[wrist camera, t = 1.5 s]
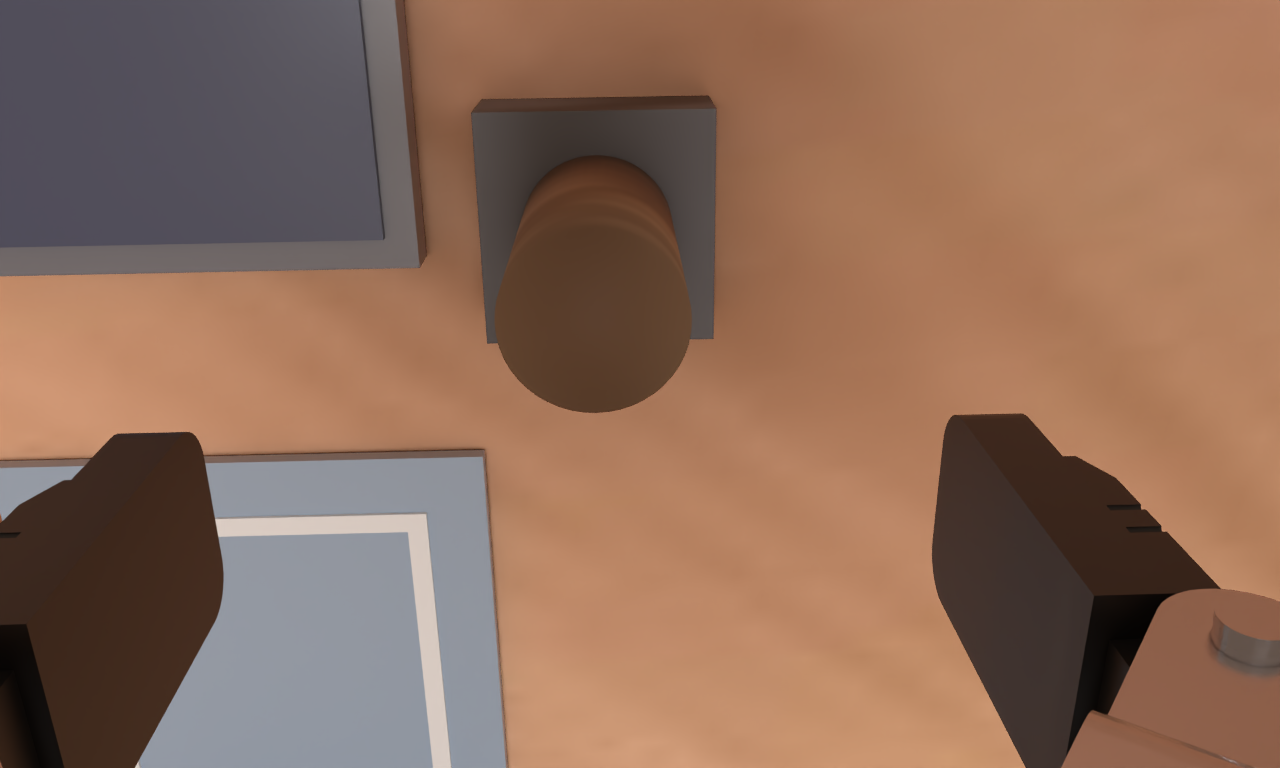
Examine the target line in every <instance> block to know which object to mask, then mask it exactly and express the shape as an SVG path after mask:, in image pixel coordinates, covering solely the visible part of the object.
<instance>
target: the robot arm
mask: <svg viewBox="0 0 1280 768" xmlns="http://www.w3.org/2000/svg"><path fill="white" fill-rule="evenodd" d="M932 563H933V573H934V580H935V585H936V589H937V593H938V596H939V599H940V601H941V603H942V605H943V607H944V609H945V611H946V613H947V615H948V617H949V619H950V621H951V623H952V625H953V627H954V629H955V630H956V632H957V634H958V636H959V638H960V640H961V642H962V644H963V646H964V648H965V650H966V652H967V654H968V656H969V658H970V660H971V662H972V664H973V666H974V668H975V669H976V671H977V673H978V675H979V677H980V679H981V681H982V683H983V685H984V687H985V689H986V691H987V693H988V695H989V697H990V699H991V701H992V703H993V705H994V707H995V708H996V710H997V712H998V714H999V716H1000V718H1001V720H1002V722H1003V724H1004V726H1005V728H1006V730H1007V732H1008V734H1009V736H1010V738H1011V740H1012V742H1013V744H1014V746H1015V747H1016V749H1017V751H1018V753H1019V755H1020V757H1021V759H1022V761H1023V763H1024V765H1025V767H1026V768H1280V601H1276V600H1273V599H1270V598H1267V597H1264V596H1260V595H1256V594H1252V593H1247V592H1241V591H1235V590H1226V589H1221V588H1220V587H1219V586H1218V585H1217V584H1216V583H1215V582H1214V581H1213V580H1212V579H1211V578H1210V577H1209V576H1208V575H1207V574H1206V573H1205V572H1204V571H1203V569H1202V568H1201V567H1200V566H1199V565H1198V564H1197V563H1196V562H1195V561H1194V560H1193V559H1192V558H1191V557H1190V556H1189V555H1188V554H1187V553H1186V552H1185V550H1184V549H1183V548H1182V547H1181V546H1180V545H1179V544H1178V543H1177V542H1176V541H1175V540H1174V539H1173V538H1172V537H1171V536H1170V535H1169V534H1168V533H1167V532H1162V530H1161V525H1160V524H1159V523H1158V522H1157V521H1156V520H1155V519H1154V518H1153V517H1152V516H1151V515H1150V514H1149V512H1148V511H1147V510H1141V504H1140V503H1139V502H1138V501H1137V500H1136V499H1135V498H1134V497H1133V496H1132V495H1131V493H1130V492H1129V491H1128V490H1127V489H1126V488H1125V487H1124V486H1123V485H1122V484H1121V483H1120V482H1119V481H1118V480H1117V479H1116V478H1115V477H1113V476H1111V475H1109V474H1107V473H1106V472H1104V471H1102V470H1100V469H1098V468H1096V467H1094V466H1093V465H1091V464H1089V463H1087V462H1085V461H1083V460H1082V459H1080V458H1078V457H1076V456H1062V455H1061V454H1060V453H1059V452H1058V450H1057V449H1056V448H1055V447H1054V446H1053V445H1052V444H1051V443H1050V441H1049V440H1048V439H1047V438H1046V437H1045V436H1044V435H1043V434H1042V432H1041V431H1040V430H1039V429H1038V428H1037V427H1036V426H1035V424H1034V423H1033V422H1032V421H1031V420H1030V419H1029V418H1028V417H1027V416H1026V415H1024V414H981V415H954V416H952V417H951V418H950V419H949V421H948V423H947V426H946V429H945V434H944V440H943V448H942V457H941V467H940V476H939V486H938V495H937V505H936V514H935V524H934V533H933V544H932ZM223 583H224V571H223V561H222V555H221V549H220V544H219V538H218V532H217V527H216V521H215V516H214V510H213V504H212V499H211V493H210V488H209V482H208V476H207V471H206V465H205V460H204V455H203V451H202V448H201V445H200V443H199V441H198V439H197V438H196V436H195V435H194V434H192V433H190V432H172V433H130V434H116V435H114V436H113V437H112V438H110V439H109V441H108V442H107V443H106V444H105V445H104V446H103V447H102V448H101V449H100V450H99V451H98V452H97V453H96V454H95V455H94V456H93V457H92V458H91V459H90V461H89V462H88V463H87V464H86V465H85V466H84V467H83V468H82V469H81V470H80V471H79V472H78V473H77V474H76V475H75V476H74V477H73V478H72V479H71V480H63V481H61V482H59V483H57V484H56V485H54V486H52V487H50V488H48V489H47V490H45V491H43V492H41V493H39V494H38V495H36V496H34V497H32V498H30V499H29V500H27V501H25V502H23V503H21V504H19V505H18V506H17V507H16V508H15V509H14V510H13V511H12V512H11V513H10V514H9V515H8V516H7V517H6V518H5V519H4V520H3V521H2V522H1V523H0V768H135V767H136V765H137V763H138V761H139V759H140V758H141V756H142V754H143V752H144V750H145V749H146V747H147V745H148V743H149V741H150V739H151V738H152V736H153V734H154V732H155V730H156V728H157V727H158V725H159V723H160V721H161V719H162V718H163V716H164V714H165V712H166V710H167V708H168V707H169V705H170V703H171V701H172V699H173V698H174V696H175V694H176V692H177V690H178V688H179V687H180V685H181V683H182V681H183V679H184V678H185V676H186V674H187V672H188V670H189V668H190V667H191V665H192V663H193V661H194V659H195V657H196V656H197V654H198V652H199V650H200V648H201V647H202V645H203V643H204V641H205V639H206V637H207V636H208V634H209V632H210V630H211V628H212V627H213V625H214V623H215V621H216V619H217V616H218V613H219V610H220V606H221V601H222V595H223Z"/></svg>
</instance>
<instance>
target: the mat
mask: <svg viewBox="0 0 1280 768" xmlns="http://www.w3.org/2000/svg"><path fill="white" fill-rule="evenodd" d="M204 460H205V465H206V471H207V476H208V482H209V488H210V493H211V499H212V504H213V510H214V516H215V521H216V527H217V532H218V538H219V544H220V549H221V555H222V561H223V571H224V583H223V595H222V601H221V606H220V610H219V613H218V616H217V619H216V621H215V623H214V625H213V627H212V628H211V630H210V632H209V634H208V636H207V637H206V639H205V641H204V643H203V645H202V647H201V648H200V650H199V652H198V654H197V656H196V657H195V659H194V661H193V663H192V665H191V667H190V668H189V670H188V672H187V674H186V676H185V678H184V679H183V681H182V683H181V685H180V687H179V688H178V690H177V692H176V694H175V696H174V698H173V699H172V701H171V703H170V705H169V707H168V708H167V710H166V712H165V714H164V716H163V718H162V719H161V721H160V723H159V725H158V727H157V728H156V730H155V732H154V734H153V736H152V738H151V739H150V741H149V743H148V745H147V747H146V749H145V750H144V752H143V754H142V756H141V758H140V759H139V761H138V763H137V765H136V767H135V768H508V761H507V748H506V734H505V721H504V707H503V694H502V680H501V667H500V653H499V640H498V626H497V613H496V599H495V586H494V572H493V559H492V545H491V532H490V518H489V505H488V491H487V478H486V464H485V451H484V450H452V451H408V452H365V453H322V454H279V455H236V456H204ZM89 461H90V459H64V460H21V461H0V514H1V517H2V521H3V520H4V519H5V518H6V517H7V516H8V515H9V514H10V513H11V512H12V511H13V510H14V509H15V508H16V507H17V506H18V505H19V504H21V503H23V502H25V501H27V500H29V499H30V498H32V497H34V496H36V495H38V494H39V493H41V492H43V491H45V490H47V489H48V488H50V487H52V486H54V485H56V484H57V483H59V482H61V481H63V480H71V479H72V478H73V477H74V476H75V475H76V474H77V473H78V472H79V471H80V470H81V469H82V468H83V467H84V466H85V465H86V464H87V463H88V462H89Z"/></svg>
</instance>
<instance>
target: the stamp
mask: <svg viewBox="0 0 1280 768" xmlns="http://www.w3.org/2000/svg"><path fill="white" fill-rule="evenodd" d="M471 116H472V131H473V145H474V160H475V174H476V189H477V203H478V217H479V232H480V246H481V261H482V275H483V289H484V304H485V318H486V333H487V344H489V343H498V345H499V348H500V351H501V353H502V355H503V358H504V360H505V361H506V363H507V365H508V366H509V368H510V370H511V371H512V372H513V374H514V375H515V376H516V377H517V379H518V380H519V381H520V382H521V383H522V384H523V385H524V386H525V387H526V388H527V389H529V390H530V391H531V392H533V393H534V394H535V395H537V396H538V397H540V398H542V399H543V400H545V401H547V402H549V403H551V404H554V405H556V406H558V407H561V408H565V409H568V410H572V411H578V412H588V413H600V412H610V411H615V410H620V409H623V408H626V407H629V406H632V405H634V404H636V403H639V402H641V401H643V400H645V399H646V398H648V397H649V396H651V395H652V394H654V393H655V392H656V391H658V390H659V389H660V388H661V387H662V386H664V384H665V383H666V382H667V381H668V380H669V379H670V378H671V377H672V376H673V374H674V373H675V371H676V370H677V368H678V367H679V365H680V363H681V361H682V360H683V358H684V356H685V353H686V350H687V347H688V345H689V340H690V339H713V334H714V258H715V181H716V107H715V105H714V104H713V102H712V101H711V99H710V97H709V96H656V97H596V98H537V99H482V100H481V101H480V102H479V103H478V105H477V106H476V107H475V109H474V110H473V111H472V112H471Z"/></svg>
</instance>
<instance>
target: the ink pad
mask: <svg viewBox="0 0 1280 768" xmlns="http://www.w3.org/2000/svg"><path fill="white" fill-rule="evenodd" d="M426 256H427V254H426V243H425V232H424V220H423V209H422V198H421V187H420V176H419V165H418V153H417V142H416V131H415V120H414V109H413V98H412V86H411V75H410V64H409V53H408V42H407V30H406V19H405V8H404V0H0V276H37V275H87V274H136V273H186V272H236V271H285V270H335V269H385V268H420V267H421V265H422V263H423V261H424V259H425V258H426Z"/></svg>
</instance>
